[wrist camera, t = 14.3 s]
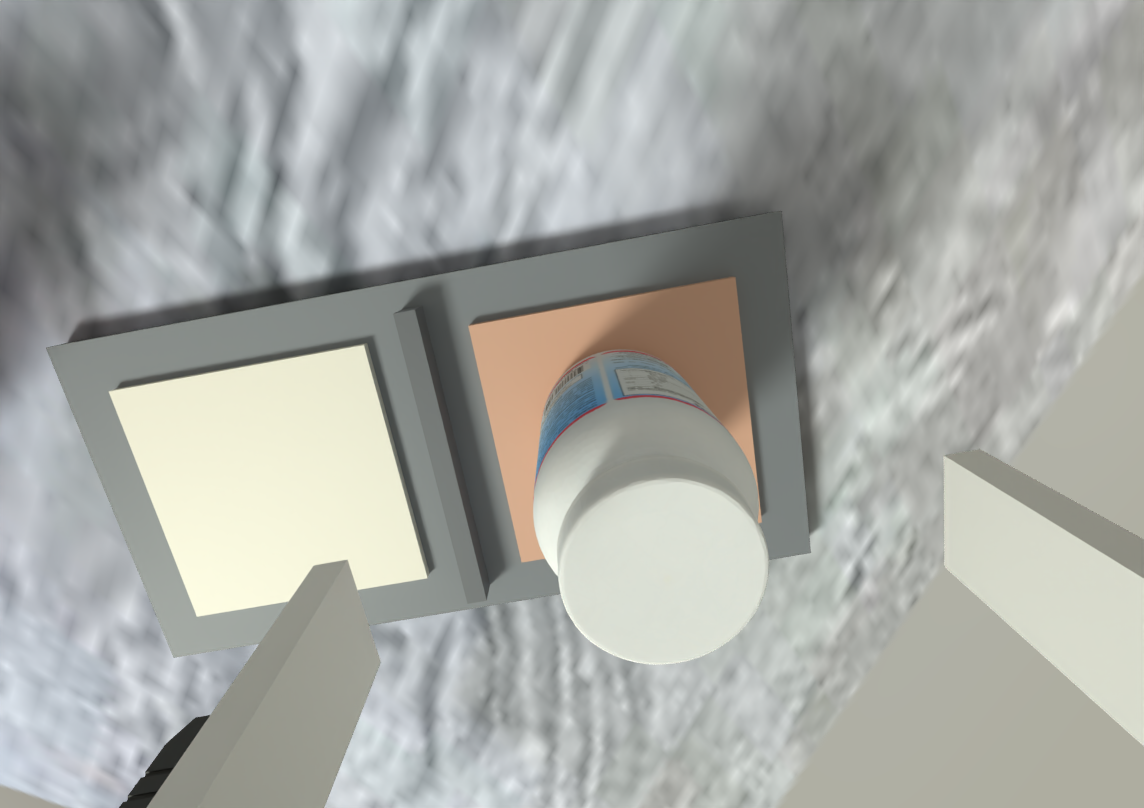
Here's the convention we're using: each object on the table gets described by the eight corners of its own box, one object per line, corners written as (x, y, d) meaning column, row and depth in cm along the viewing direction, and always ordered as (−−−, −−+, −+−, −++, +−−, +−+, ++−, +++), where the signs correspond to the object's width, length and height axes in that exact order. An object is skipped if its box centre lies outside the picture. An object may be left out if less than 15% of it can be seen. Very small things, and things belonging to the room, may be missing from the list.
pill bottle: (577, 516, 25) (584, 729, 15) (517, 381, 24) (475, 506, 13) (719, 463, 25) (837, 644, 14) (667, 320, 23) (753, 399, 12)
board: (66, 343, 25) (19, 353, 23) (772, 212, 24) (793, 210, 21) (187, 643, 28) (156, 676, 26) (802, 541, 27) (821, 567, 25)
